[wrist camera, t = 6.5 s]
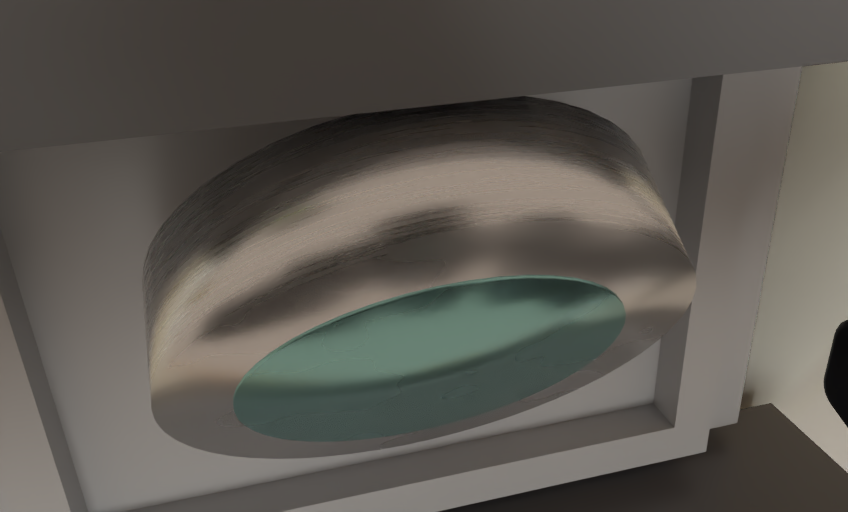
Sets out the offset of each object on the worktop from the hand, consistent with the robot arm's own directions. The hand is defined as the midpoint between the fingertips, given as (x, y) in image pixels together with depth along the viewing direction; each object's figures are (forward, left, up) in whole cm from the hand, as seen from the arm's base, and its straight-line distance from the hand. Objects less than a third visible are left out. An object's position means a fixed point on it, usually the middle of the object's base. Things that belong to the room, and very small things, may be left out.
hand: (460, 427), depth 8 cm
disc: (0, 0, -3) cm, 3 cm away
